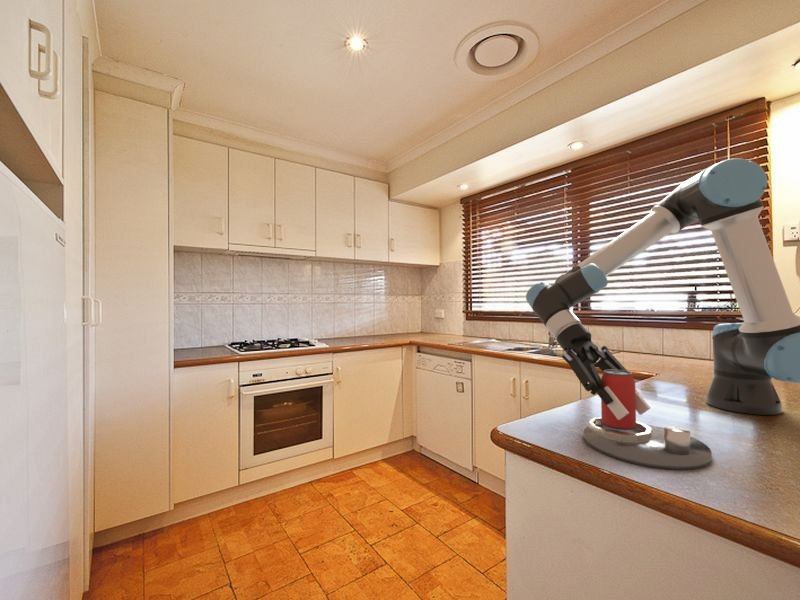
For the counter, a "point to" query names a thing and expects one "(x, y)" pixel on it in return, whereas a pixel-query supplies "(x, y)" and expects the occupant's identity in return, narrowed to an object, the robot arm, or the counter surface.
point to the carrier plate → (649, 445)
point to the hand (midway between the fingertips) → (634, 413)
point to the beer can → (620, 398)
